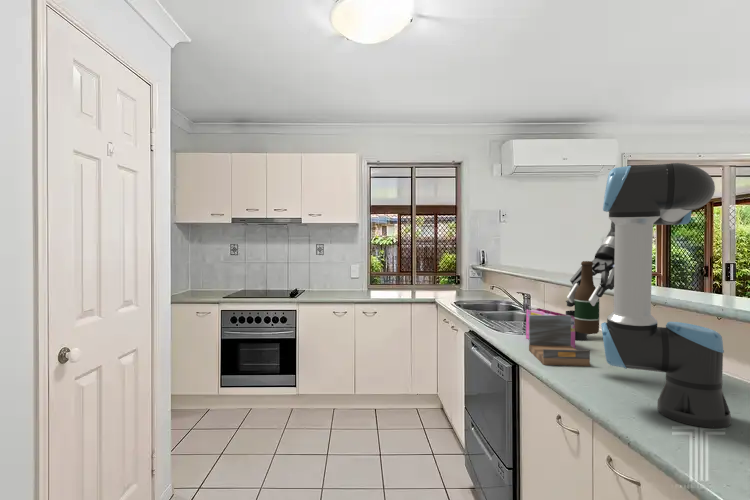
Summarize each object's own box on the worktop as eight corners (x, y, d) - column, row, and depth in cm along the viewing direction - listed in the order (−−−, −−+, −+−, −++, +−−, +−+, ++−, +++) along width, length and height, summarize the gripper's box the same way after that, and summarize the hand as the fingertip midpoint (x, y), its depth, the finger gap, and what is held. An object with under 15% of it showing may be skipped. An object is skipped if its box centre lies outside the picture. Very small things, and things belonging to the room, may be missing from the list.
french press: (591, 341, 188) (591, 289, 188) (568, 340, 190) (569, 289, 189) (582, 335, 200) (582, 286, 199) (561, 334, 201) (561, 286, 201)
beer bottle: (602, 334, 140) (603, 262, 139) (577, 333, 142) (577, 261, 141) (595, 329, 148) (596, 260, 147) (571, 328, 149) (572, 260, 149)
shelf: (589, 366, 152) (590, 325, 152) (543, 365, 154) (544, 325, 153) (569, 351, 172) (569, 315, 172) (528, 350, 174) (529, 315, 173)
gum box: (523, 337, 196) (523, 308, 195) (537, 336, 198) (538, 307, 198) (560, 351, 173) (560, 317, 172) (576, 349, 175) (576, 316, 175)
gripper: (644, 260, 142) (614, 313, 135) (588, 258, 160) (559, 304, 153) (635, 245, 140) (604, 297, 133) (579, 244, 158) (549, 291, 150)
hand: (580, 301), depth 143 cm, fingers closed on beer bottle, 7 cm apart
